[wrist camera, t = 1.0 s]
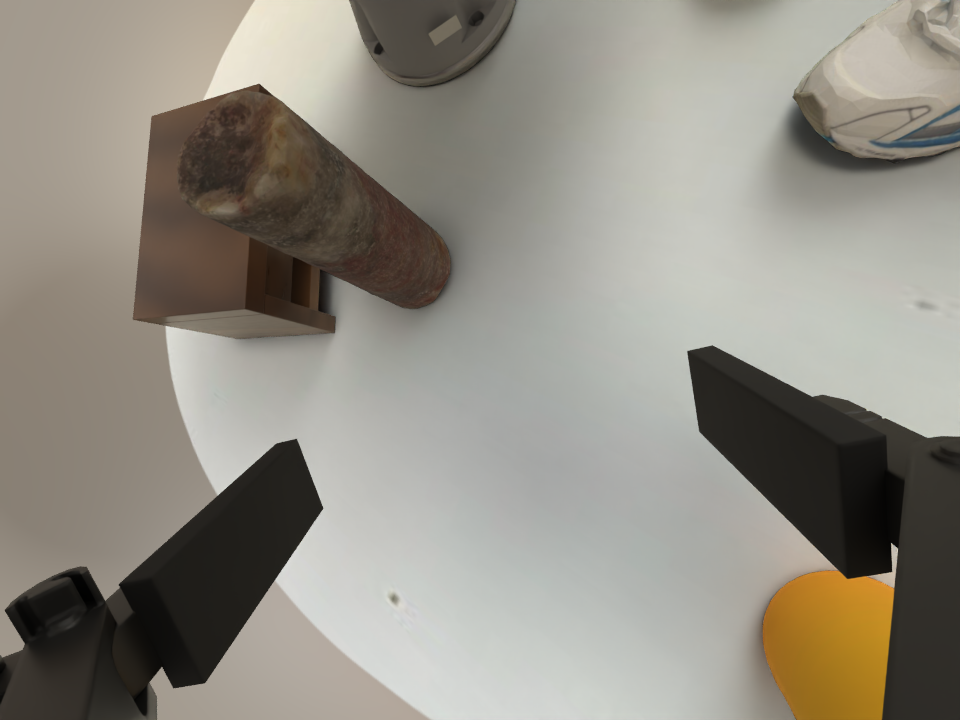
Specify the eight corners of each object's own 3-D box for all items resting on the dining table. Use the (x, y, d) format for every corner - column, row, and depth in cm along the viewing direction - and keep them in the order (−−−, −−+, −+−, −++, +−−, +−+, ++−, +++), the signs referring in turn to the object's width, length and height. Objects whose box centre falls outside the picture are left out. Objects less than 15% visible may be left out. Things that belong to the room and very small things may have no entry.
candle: (367, 263, 43) (154, 147, 24) (425, 211, 42) (246, 46, 23) (406, 326, 41) (206, 252, 22) (469, 274, 39) (312, 147, 21)
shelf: (249, 175, 49) (151, 116, 40) (342, 154, 45) (259, 83, 36) (238, 339, 47) (132, 319, 38) (335, 332, 43) (244, 309, 34)
